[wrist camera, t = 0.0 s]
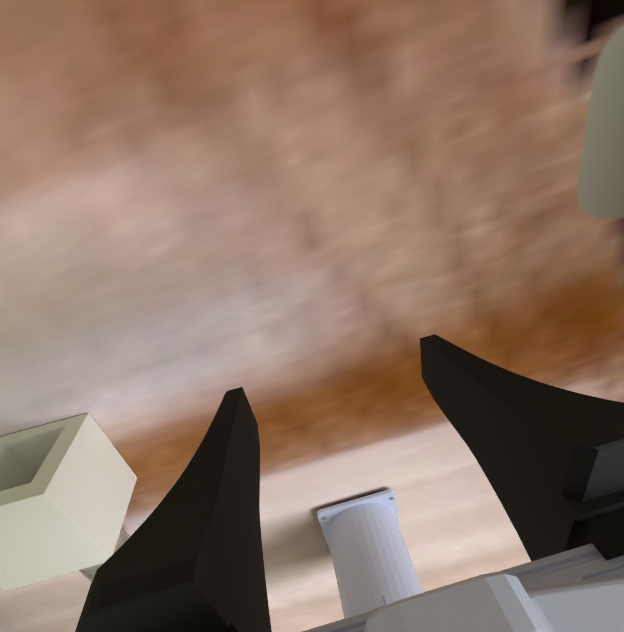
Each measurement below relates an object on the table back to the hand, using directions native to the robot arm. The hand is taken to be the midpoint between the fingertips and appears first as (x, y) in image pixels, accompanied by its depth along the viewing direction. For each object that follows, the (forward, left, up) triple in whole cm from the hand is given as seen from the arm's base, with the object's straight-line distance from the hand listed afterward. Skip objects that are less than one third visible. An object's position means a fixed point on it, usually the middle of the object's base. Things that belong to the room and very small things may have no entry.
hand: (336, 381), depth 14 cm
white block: (-9, +20, -10) cm, 25 cm away
